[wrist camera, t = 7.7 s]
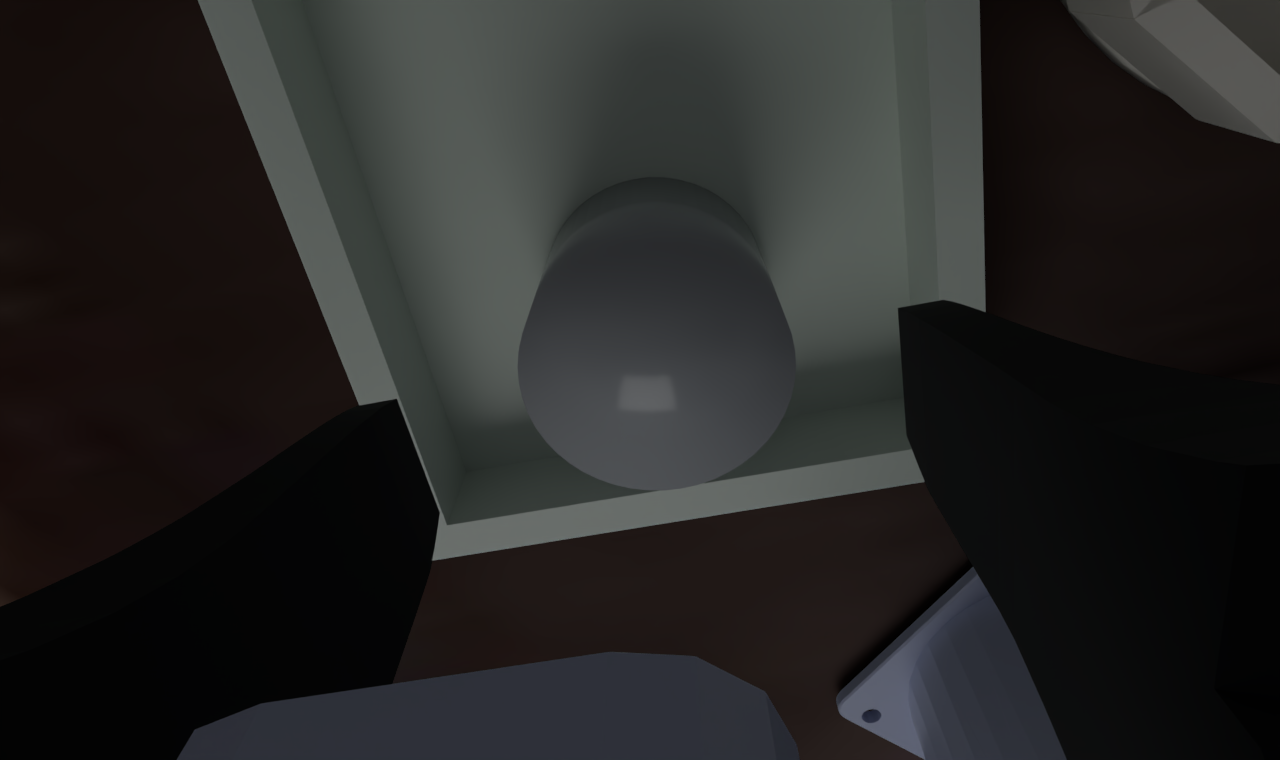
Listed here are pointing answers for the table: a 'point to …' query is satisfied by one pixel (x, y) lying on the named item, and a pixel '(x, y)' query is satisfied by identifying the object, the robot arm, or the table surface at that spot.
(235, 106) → the table surface
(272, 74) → the parts tray
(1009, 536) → the robot arm
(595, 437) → the pebble
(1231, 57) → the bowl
